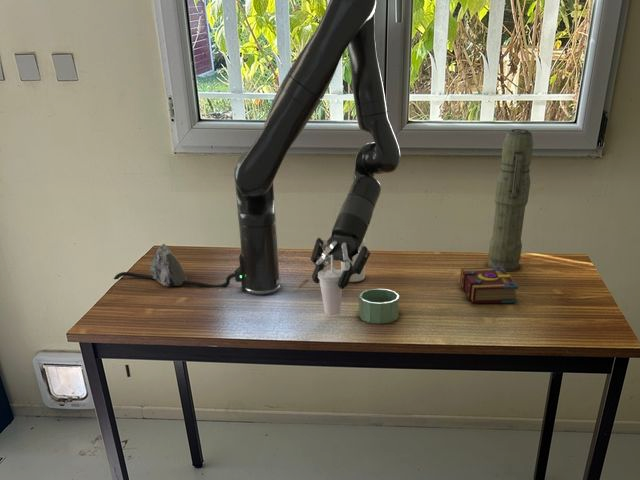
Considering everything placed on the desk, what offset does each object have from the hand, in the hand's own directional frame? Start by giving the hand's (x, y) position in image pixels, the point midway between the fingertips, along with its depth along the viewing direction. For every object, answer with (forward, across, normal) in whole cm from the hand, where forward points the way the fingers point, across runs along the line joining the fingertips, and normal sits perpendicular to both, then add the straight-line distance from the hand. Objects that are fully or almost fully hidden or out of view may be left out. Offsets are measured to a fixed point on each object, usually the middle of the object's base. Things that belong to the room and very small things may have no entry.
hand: (327, 284), depth 162 cm
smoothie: (+4, 0, +6) cm, 8 cm away
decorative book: (-19, +26, +31) cm, 45 cm away
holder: (0, +9, +12) cm, 15 cm away
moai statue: (-34, +22, +47) cm, 62 cm away
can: (-13, -9, +25) cm, 30 cm away
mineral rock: (+6, -52, +6) cm, 53 cm away
